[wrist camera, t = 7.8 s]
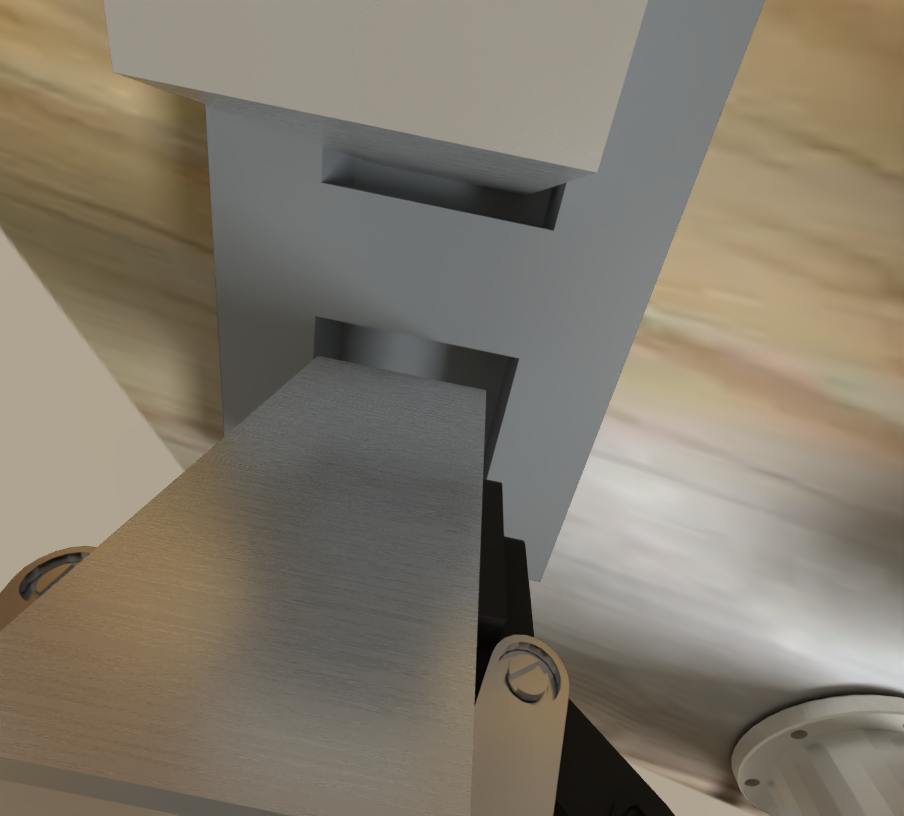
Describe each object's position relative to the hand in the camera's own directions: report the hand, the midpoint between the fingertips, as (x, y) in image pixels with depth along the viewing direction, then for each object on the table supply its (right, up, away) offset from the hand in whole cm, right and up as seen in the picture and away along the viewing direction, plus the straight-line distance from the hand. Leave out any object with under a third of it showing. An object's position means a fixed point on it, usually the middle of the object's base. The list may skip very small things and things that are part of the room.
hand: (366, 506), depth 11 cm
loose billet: (0, +1, +3) cm, 3 cm away
